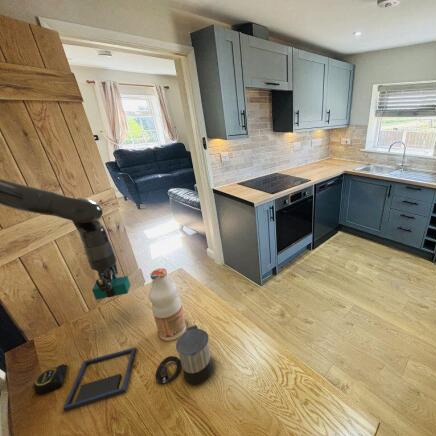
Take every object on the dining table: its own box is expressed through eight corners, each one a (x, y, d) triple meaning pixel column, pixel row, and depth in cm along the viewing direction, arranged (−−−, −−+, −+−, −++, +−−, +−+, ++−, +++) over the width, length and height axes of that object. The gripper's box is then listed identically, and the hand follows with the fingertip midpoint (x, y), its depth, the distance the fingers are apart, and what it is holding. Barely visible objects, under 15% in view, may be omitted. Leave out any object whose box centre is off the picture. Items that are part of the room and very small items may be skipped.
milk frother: (218, 374, 77) (213, 342, 71) (166, 410, 67) (155, 377, 61) (201, 344, 86) (195, 314, 80) (153, 372, 77) (143, 340, 71)
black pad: (76, 405, 67) (74, 402, 67) (83, 388, 72) (81, 384, 71) (117, 392, 71) (116, 389, 70) (121, 376, 75) (120, 373, 74)
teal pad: (95, 299, 87) (91, 289, 85) (100, 291, 91) (96, 281, 89) (127, 293, 90) (124, 283, 88) (130, 285, 94) (127, 275, 93)
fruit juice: (155, 342, 87) (136, 281, 75) (166, 321, 96) (151, 264, 84) (181, 342, 87) (166, 281, 76) (190, 321, 96) (178, 264, 84)
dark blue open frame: (65, 412, 66) (62, 408, 65) (86, 365, 79) (83, 361, 78) (126, 393, 71) (124, 389, 70) (136, 351, 84) (134, 347, 83)
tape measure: (63, 389, 72) (58, 381, 70) (32, 400, 69) (27, 392, 67) (69, 369, 77) (65, 361, 76) (41, 379, 74) (36, 371, 73)
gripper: (94, 245, 88) (107, 282, 95) (79, 267, 76) (95, 307, 83) (118, 242, 91) (129, 278, 98) (106, 262, 79) (120, 302, 86)
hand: (113, 291), depth 90 cm, fingers closed on teal pad, 5 cm apart
